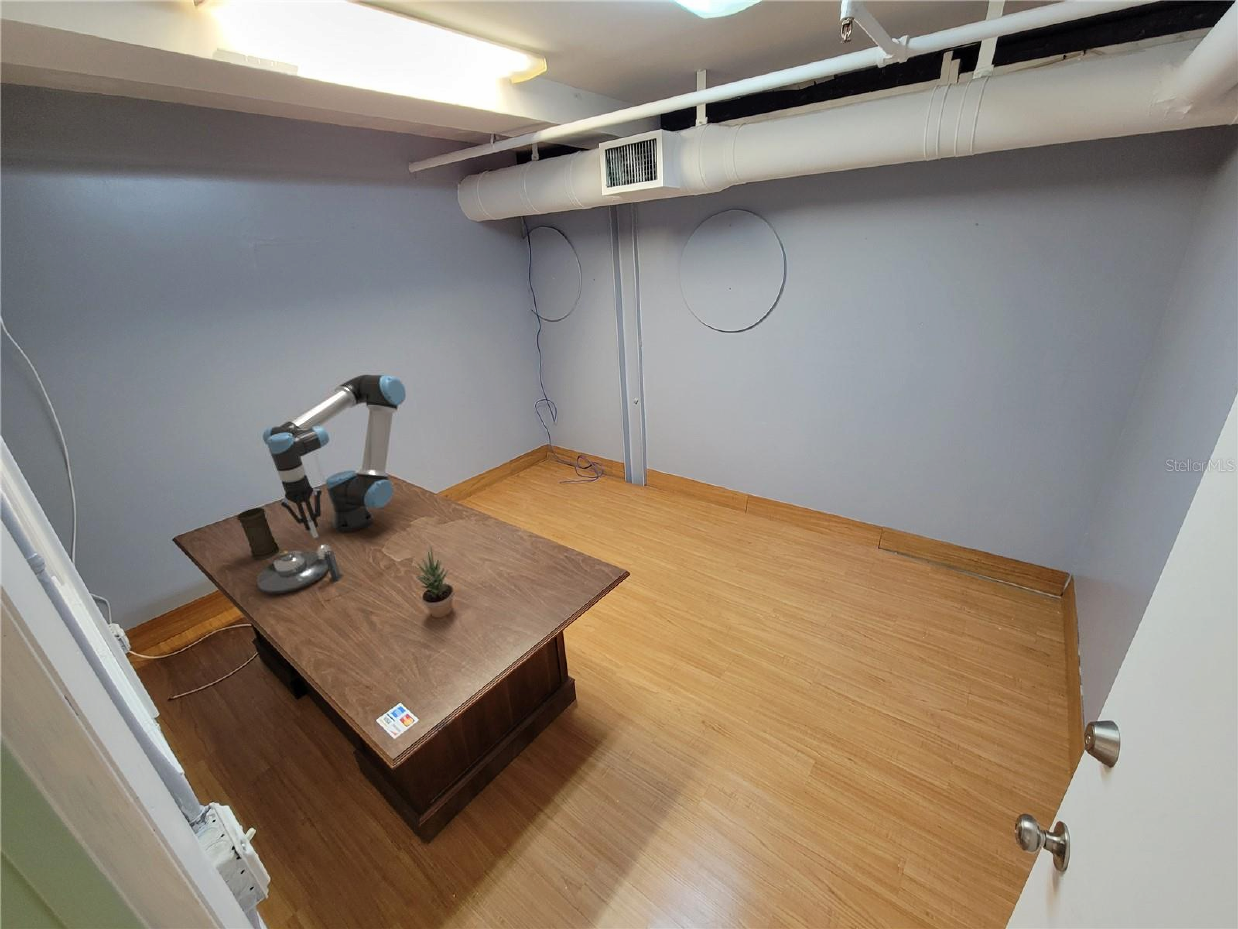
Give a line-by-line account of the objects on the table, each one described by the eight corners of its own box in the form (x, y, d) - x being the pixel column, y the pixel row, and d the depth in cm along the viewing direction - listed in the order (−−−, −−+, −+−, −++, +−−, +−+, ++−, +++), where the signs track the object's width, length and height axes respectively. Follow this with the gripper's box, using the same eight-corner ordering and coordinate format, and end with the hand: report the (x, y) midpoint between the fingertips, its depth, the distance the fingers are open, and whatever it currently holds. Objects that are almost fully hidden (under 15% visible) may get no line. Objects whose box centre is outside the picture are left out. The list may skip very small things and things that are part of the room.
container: (266, 560, 188) (250, 519, 181) (246, 558, 190) (230, 518, 183) (285, 547, 196) (270, 507, 189) (266, 546, 198) (251, 506, 191)
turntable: (319, 549, 192) (316, 538, 190) (337, 572, 177) (333, 561, 175) (252, 575, 178) (247, 563, 176) (266, 602, 163) (261, 590, 161)
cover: (302, 559, 182) (297, 545, 180) (310, 569, 176) (305, 554, 174) (274, 570, 176) (269, 556, 174) (281, 580, 170) (276, 566, 168)
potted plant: (439, 625, 151) (423, 557, 141) (419, 615, 156) (402, 549, 146) (464, 606, 159) (451, 541, 149) (445, 597, 164) (430, 533, 154)
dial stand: (344, 574, 178) (334, 542, 173) (336, 582, 174) (325, 550, 168) (334, 573, 179) (324, 541, 173) (325, 582, 174) (314, 549, 169)
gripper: (311, 468, 176) (331, 525, 186) (269, 481, 168) (292, 539, 177) (317, 474, 171) (337, 532, 181) (274, 487, 163) (297, 547, 173)
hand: (315, 536), depth 179 cm, fingers closed
